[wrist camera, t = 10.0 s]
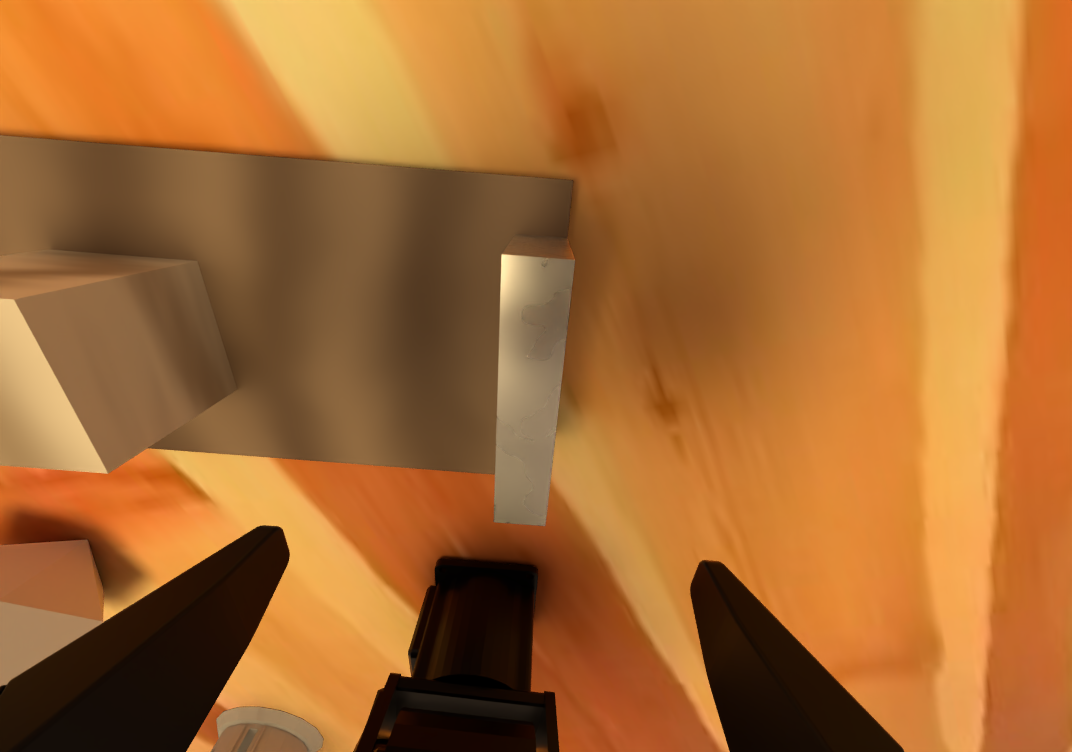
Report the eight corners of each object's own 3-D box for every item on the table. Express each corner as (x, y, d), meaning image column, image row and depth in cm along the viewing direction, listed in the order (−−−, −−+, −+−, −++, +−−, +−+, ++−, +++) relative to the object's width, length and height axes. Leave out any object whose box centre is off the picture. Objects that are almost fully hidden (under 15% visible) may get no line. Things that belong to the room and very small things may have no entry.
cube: (197, 261, 16) (13, 299, 10) (237, 389, 18) (108, 473, 13) (50, 249, 16) (-210, 282, 10) (111, 380, 18) (-70, 459, 13)
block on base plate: (572, 180, 15) (584, 177, 10) (543, 468, 21) (541, 561, 16) (-56, 131, 15) (-388, 100, 9) (102, 434, 21) (-47, 517, 16)
